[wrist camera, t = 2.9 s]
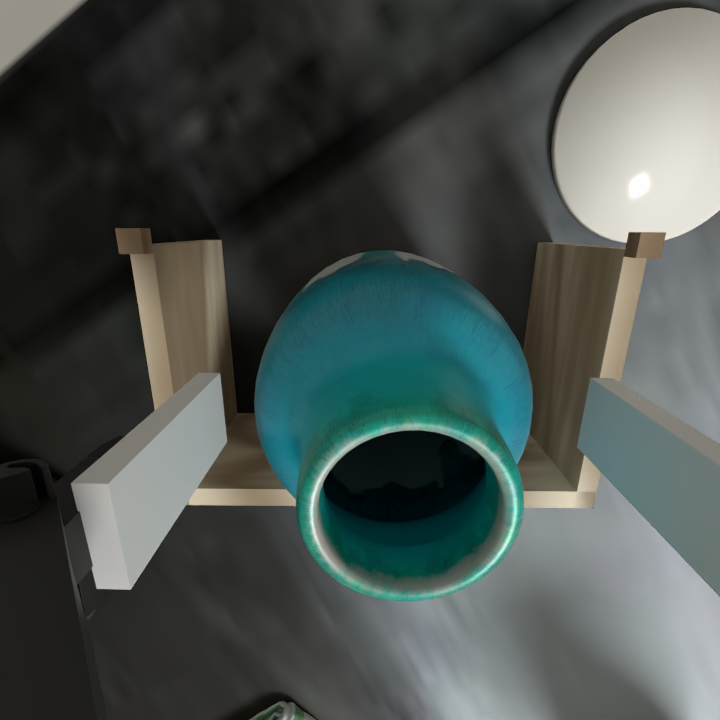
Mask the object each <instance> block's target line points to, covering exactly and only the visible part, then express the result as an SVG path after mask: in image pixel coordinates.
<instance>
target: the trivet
mask: <svg viewBox="0 0 720 720" xmlns="http://www.w3.org/2000/svg"><path fill="white" fill-rule="evenodd" d="M551 163H552V170H553V176H554V181H555V184H556V187H557V190H558V193H559V195H560V197H561V199H562V201H563V203H564V205H565V206H566V208H567V209H568V211H569V212H570V214H571V215H572V216H573V217H574V218H575V219H576V220H577V221H578V222H579V223H580V224H581V225H583V226H584V227H585V228H586V229H588V230H589V231H591V232H593V233H594V234H596V235H598V236H601V237H603V238H606V239H608V240H613V241H617V242H624V243H627V238H628V233H629V232H666V236H665V240H667V239H670V238H673V237H676V236H679V235H681V234H683V233H686V232H688V231H690V230H692V229H694V228H695V227H697V226H699V225H700V224H702V223H704V222H705V221H706V220H708V219H709V218H710V217H712V216H713V215H714V214H716V213H717V212H718V211H719V210H720V14H718V13H716V12H713V11H709V10H705V9H699V8H674V9H669V10H664V11H660V12H656V13H654V14H651V15H648V16H646V17H643V18H641V19H639V20H637V21H635V22H633V23H632V24H630V25H628V26H626V27H625V28H624V29H622V30H621V31H619V32H618V33H616V34H615V35H614V36H612V37H611V38H610V39H608V40H607V41H606V42H605V43H604V44H603V45H601V46H600V47H599V48H598V49H597V50H596V51H595V52H594V53H593V54H592V55H591V56H590V57H589V59H588V60H587V61H586V62H585V63H584V64H583V66H582V67H581V68H580V70H579V71H578V73H577V74H576V75H575V77H574V78H573V80H572V82H571V84H570V85H569V87H568V89H567V91H566V93H565V95H564V97H563V100H562V102H561V104H560V107H559V110H558V113H557V116H556V120H555V124H554V129H553V134H552V144H551Z"/></svg>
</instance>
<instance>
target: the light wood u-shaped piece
mask: <svg viewBox="0 0 720 720" xmlns="http://www.w3.org/2000/svg"><path fill="white" fill-rule="evenodd" d="M115 232H116V238H117V244H118V250H119V254H130V257H131V263H132V270H133V276H134V282H135V288H136V295H137V301H138V307H139V313H140V320H141V326H142V332H143V338H144V345H145V351H146V357H147V363H148V370H149V376H150V382H151V388H152V395H153V401H154V407H155V410H156V409H157V408H158V407H160V406H161V405H162V404H163V403H164V402H165V401H167V400H168V399H169V398H170V397H171V396H172V395H174V394H175V393H176V392H177V391H178V390H179V389H180V388H182V387H183V386H184V385H185V384H186V383H187V382H189V381H190V380H191V379H192V378H193V377H194V376H196V375H197V374H198V373H220V377H221V387H222V396H223V406H224V415H225V425H226V435H227V443H226V444H225V446H224V447H223V449H222V450H221V452H220V453H219V455H218V457H217V458H216V460H215V461H214V463H213V464H212V466H211V467H210V469H209V470H208V472H207V473H206V475H205V476H204V478H203V480H202V481H201V483H200V484H199V486H198V487H197V489H196V490H195V492H194V493H193V495H192V496H191V498H190V499H189V501H188V502H187V504H186V505H255V506H296V499H295V498H294V497H293V496H292V495H291V494H290V493H289V492H288V491H287V489H286V488H285V487H284V486H283V485H282V483H281V482H280V480H279V479H278V477H277V476H276V474H275V473H274V471H273V470H272V468H271V466H270V464H269V462H268V460H267V458H266V455H265V453H264V451H263V449H262V447H261V443H260V439H259V436H258V432H257V428H256V418H255V413H237V403H236V392H235V381H234V370H233V360H232V349H231V338H230V327H229V316H228V306H227V295H226V284H225V273H224V262H223V251H222V241H221V240H197V241H183V242H170V243H156V244H152V240H151V233H150V228H115ZM665 236H666V232H629V233H628V238H627V243H626V248H620V247H607V246H593V245H580V244H566V243H546V242H538V244H537V252H536V259H535V267H534V274H533V281H532V289H531V296H530V303H529V311H528V318H527V326H526V333H525V340H524V348H523V354H524V356H525V358H526V361H527V364H528V369H529V373H530V378H531V382H532V389H533V412H532V419H531V427H530V433H529V436H528V439H527V443H526V446H525V449H524V452H523V454H522V456H521V458H520V460H519V462H518V464H517V467H518V469H519V472H520V476H521V480H522V484H523V491H524V507H523V508H593V506H594V501H595V496H596V492H597V487H598V483H599V478H600V473H601V472H600V471H599V470H598V469H597V467H596V466H595V465H594V464H593V463H592V462H591V461H590V460H589V459H588V458H587V457H586V456H585V455H584V454H583V453H582V452H581V451H580V450H579V449H578V448H577V444H578V439H579V434H580V429H581V423H582V418H583V413H584V408H585V403H586V398H587V392H588V387H589V382H590V378H613V379H615V380H616V381H618V382H619V383H620V381H621V376H622V372H623V367H624V362H625V358H626V353H627V349H628V344H629V339H630V335H631V330H632V326H633V321H634V316H635V312H636V307H637V302H638V298H639V293H640V289H641V284H642V279H643V275H644V270H645V265H646V261H647V258H661V254H662V249H663V245H664V240H665Z"/></svg>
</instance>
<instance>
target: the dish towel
mask: <svg viewBox="0 0 720 720" xmlns="http://www.w3.org/2000/svg"><path fill="white" fill-rule="evenodd" d="M249 720H316V719H315V718H313V717H312V716H310V715H309V714H307V713H306V712H304V711H302V710H301V709H300V708H299V707H298V706H297V705H296V704H295V703H293V702H290V703H288V704H287V703H286V702H284V701H280V702H278V703H276V704H274V705H273V706H271V707H269V708H267V709H266V710H264V711H262V712H260V713H258V714H257V715H255V716H254V717H252V718H251V719H249Z"/></svg>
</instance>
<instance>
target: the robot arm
mask: <svg viewBox="0 0 720 720" xmlns="http://www.w3.org/2000/svg"><path fill="white" fill-rule="evenodd" d="M226 443H227V435H226V425H225V415H224V406H223V396H222V387H221V377H220V373H198V374H197V375H196V376H194V377H193V378H192V379H191V380H190V381H189V382H187V383H186V384H185V385H184V386H183V387H182V388H180V389H179V390H178V391H177V392H176V393H175V394H174V395H172V396H171V397H170V398H169V399H168V400H167V401H165V402H164V403H163V404H162V405H161V406H160V407H158V408H157V409H156V410H155V411H154V412H153V413H152V414H150V415H149V416H148V417H147V418H146V419H145V420H143V421H142V422H141V423H140V424H139V425H138V426H136V427H135V428H134V429H133V430H132V431H131V432H130V433H128V434H127V435H126V436H119V437H117V438H115V439H113V440H111V441H109V442H107V443H105V444H103V445H101V446H100V447H98V448H97V449H96V450H95V451H94V452H92V453H91V454H90V455H89V456H88V458H85V459H84V460H83V461H81V462H80V463H79V464H78V465H77V467H74V468H73V469H72V470H70V471H69V472H68V473H67V474H65V475H64V476H63V477H62V478H61V479H59V480H57V479H55V478H53V477H51V473H50V470H49V466H48V464H47V463H46V462H45V461H44V460H39V459H21V460H16V461H11V462H6V463H3V464H0V720H107V715H106V710H105V705H104V700H103V695H102V690H101V685H100V680H99V675H98V670H97V665H96V660H95V655H94V650H93V645H92V641H91V636H90V631H89V626H88V622H89V621H90V620H91V619H92V618H93V617H94V615H95V614H96V613H97V612H98V610H99V609H100V608H101V606H102V605H103V603H104V602H105V600H106V599H107V598H108V596H109V595H110V593H111V592H112V590H113V589H128V590H131V588H132V587H133V585H134V584H135V582H136V581H137V579H138V578H139V576H140V574H141V573H142V571H143V570H144V568H145V567H146V565H147V564H148V562H149V561H150V559H151V558H152V556H153V555H154V553H155V551H156V550H157V548H158V547H159V545H160V544H161V542H162V541H163V539H164V538H165V536H166V535H167V533H168V532H169V530H170V529H171V527H172V525H173V524H174V522H175V521H176V519H177V518H178V516H179V515H180V513H181V512H182V510H183V509H184V507H185V506H186V504H187V502H188V501H189V499H190V498H191V496H192V495H193V493H194V492H195V490H196V489H197V487H198V486H199V484H200V483H201V481H202V480H203V478H204V476H205V475H206V473H207V472H208V470H209V469H210V467H211V466H212V464H213V463H214V461H215V460H216V458H217V457H218V455H219V453H220V452H221V450H222V449H223V447H224V446H225V444H226ZM577 448H578V449H579V450H580V451H581V452H582V453H583V454H584V455H585V456H586V457H587V458H588V459H589V460H590V461H591V462H592V463H593V464H594V465H595V466H596V467H597V469H598V470H599V471H600V472H601V473H602V474H603V475H604V476H605V477H606V478H607V479H608V480H609V481H610V482H611V483H612V484H613V485H614V486H615V487H616V488H617V489H618V491H619V492H620V493H621V494H622V495H623V496H624V497H625V498H626V499H627V500H628V501H629V502H630V503H631V504H632V505H633V506H634V507H635V508H636V509H637V510H638V512H639V513H640V514H641V515H642V516H643V517H644V518H645V519H646V520H647V521H648V522H649V523H650V524H651V525H652V526H653V527H654V528H655V529H656V530H657V531H658V532H659V534H660V535H661V536H662V537H663V538H664V539H665V540H666V541H667V542H668V543H669V544H670V545H671V546H672V547H673V548H674V549H675V550H676V551H677V552H678V553H679V555H680V556H681V557H682V558H683V559H684V560H685V561H686V562H687V563H688V564H689V565H690V566H691V567H692V568H693V569H694V570H695V571H696V572H697V573H698V574H699V575H700V577H701V578H702V579H703V580H704V581H705V582H706V583H707V584H708V585H709V586H710V587H711V588H712V589H713V590H714V591H715V592H716V593H717V594H718V595H719V596H720V444H718V443H717V442H715V441H714V440H712V439H710V438H709V437H707V436H705V435H704V434H702V433H701V432H699V431H697V430H696V429H694V428H692V427H691V426H689V425H688V424H686V423H684V422H683V421H681V420H680V419H678V418H676V417H675V416H673V415H671V414H670V413H668V412H667V411H665V410H663V409H662V408H660V407H658V406H657V405H655V404H654V403H652V402H650V401H649V400H647V399H645V398H644V397H642V396H641V395H639V394H637V393H636V392H634V391H632V390H631V389H629V388H628V387H626V386H624V385H623V384H621V383H619V382H618V381H616V380H615V379H613V378H590V382H589V387H588V392H587V398H586V403H585V408H584V413H583V418H582V423H581V429H580V434H579V439H578V444H577Z"/></svg>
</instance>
